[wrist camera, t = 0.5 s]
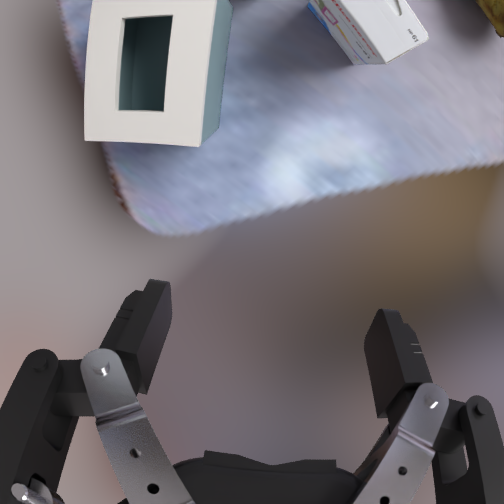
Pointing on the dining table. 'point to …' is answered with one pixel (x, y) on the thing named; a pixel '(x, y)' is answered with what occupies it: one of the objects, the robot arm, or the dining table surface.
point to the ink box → (371, 28)
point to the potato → (494, 13)
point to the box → (155, 70)
